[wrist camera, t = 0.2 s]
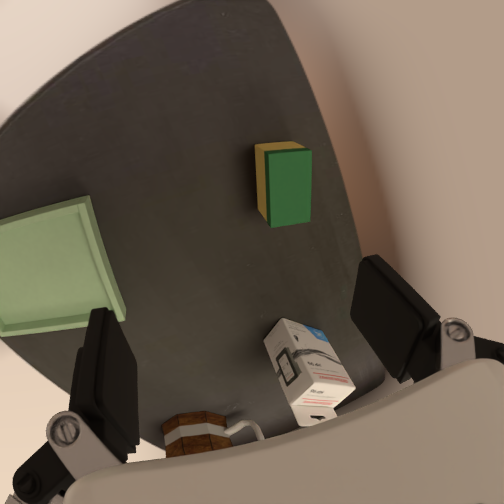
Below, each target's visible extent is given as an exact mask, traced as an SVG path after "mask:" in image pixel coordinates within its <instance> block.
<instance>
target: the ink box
mask: <svg viewBox="0 0 504 504" xmlns="http://www.w3.org/2000/svg"><path fill="white" fill-rule="evenodd" d="M264 344H265V346H266V349H267V351H268V354H269V356H270V359H271V361H272V364H273V366H274V369H275V371H276V374H277V376H278V378H279V381H280V384H281V386H282V389H283V391H284V394H285V396H286V399H287V401H288V403H289V405H290V406H291V408H292V411H293V413H294V416H295V418H296V420H297V423H298V424H299V425H300V426H312V425H315V424H318V423H321V422H324V421H327V420H330V419H333V418H335V417H337V415H336V413H335V411H334V410H333V407H335V406H336V405H337V404H339V403H340V402H341V401H342V400H343V399H344V398H346V397H347V396H348V395H349V394H350V393H351V392H352V391H354V390H355V388H356V387H355V386H354V384H353V383H352V381H351V379H350V377H349V376H348V374H347V372H346V371H345V369H344V367H343V366H342V364H341V362H340V361H339V359H338V357H337V355H336V354H335V352H334V350H333V349H332V347H331V345H330V344H329V342H328V340H327V338H326V337H325V335H324V333H323V332H322V331H321V330H318V329H315V328H312V327H309V326H306V325H303V324H300V323H297V322H294V321H291V320H288V319H285V318H281V319H280V320H279V321H278V323H277V324H276V325H275V326H274V328H273V329H272V330H271V332H270V333H269V334H268V335H267V337H266V338H265V339H264ZM310 415H322V416H324V417H325V419H321V421H319V420H317V419H312V418H311V417H310Z"/></svg>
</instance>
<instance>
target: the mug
mask: <svg viewBox="0 0 504 504" xmlns="http://www.w3.org/2000/svg"><path fill="white" fill-rule="evenodd" d="M244 426H251V427H252V428H253V429H254V430H255V433H256V436H257V439H258V441H261V440H264V436H263V434H262V432H261V429H260V427H259V426H258V425H257V424H256V423H255V422H254V421H252V420H241V421H239V422H238V423H236V424H234V425H233V426H231V427H229V428H227V423H226V417H225V416H221V415H217V414H214V413H210V412H207V411H201V412H193V413H186V414H177V415H175V416H174V417H173V418H171V419H170V420H168V421H167V422H165V423H164V424H162V429H163V433H164V438H165V446H166V458H171V457H178V456H185V455H191V454H197V453H203V452H209V451H215V450H220V449H225V448H230V447H233V445H232V442H231V440H230V437H229V436H230V435H232V434H233V433H235V432H237V431H239V430H240V429H242V428H243V427H244Z"/></svg>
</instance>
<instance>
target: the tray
mask: <svg viewBox="0 0 504 504" xmlns="http://www.w3.org/2000/svg"><path fill="white" fill-rule="evenodd" d="M102 307H107V308H108V309H109V310H113V311H114V313H115V315H116V318H117V320H118V322H119V321H125V316H126V307H125V304H124V302H123V299H122V297H121V294H120V291H119V289H118V286H117V283H116V280H115V277H114V275H113V272H112V269H111V266H110V263H109V260H108V257H107V254H106V251H105V248H104V244H103V241H102V238H101V235H100V231H99V228H98V225H97V221H96V218H95V214H94V210H93V207H92V203H91V199H90V195H87V196H83V197H79V198H75V199H71V200H67V201H63V202H59V203H56V204H52V205H48V206H45V207H41V208H38V209H34V210H31V211H27V212H24V213H21V214H17V215H14V216H11V217H8V218H5V219H1V220H0V336H1V337H4V336H14V335H23V334H32V333H40V332H48V331H56V330H64V329H71V328H79V327H86V326H88V321H89V317H90V312H91V310H92V309H95V308H102Z"/></svg>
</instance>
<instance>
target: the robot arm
mask: <svg viewBox="0 0 504 504" xmlns="http://www.w3.org/2000/svg"><path fill="white" fill-rule="evenodd" d="M350 316H351V319H352V321H353V322H354V324H355V325H356V326H357V328H358V329H359V331H360V332H361V333H362V335H363V336H364V338H365V339H366V340H367V342H368V343H369V345H370V346H371V348H372V349H373V350H374V352H375V353H376V355H377V356H378V358H379V359H380V360H381V362H382V363H383V365H384V366H385V368H386V369H387V370H388V372H389V373H390V375H391V376H392V377H393V378H396V379H397V380H398V382H399V383H400V384H401V383H403V382H405V381H407V380H409V379H410V378H412V379H413V380H414V384H413V385H411V386H409V387H406V388H404V389H402V390H400V391H398V392H396V393H394V394H392V395H389V396H387V397H385V398H383V399H381V400H378V401H376V402H374V403H371V404H369V405H366V406H364V407H361V408H359V409H357V410H354V411H351V412H349V413H346V414H344V415H341V416H338V417H335V418H333V419H330V420H327V421H324V422H321V423H318V424H315V425H312V426H310V427H306V428H303V429H300V430H297V431H293V432H290V433H286V434H283V435H279V436H276V437H272V438H268V439H264V440H261V441H257V442H252V443H248V444H244V445H239V446H235V447H230V448H225V449H220V450H215V451H209V452H203V453H197V454H191V455H185V456H178V457H171V458H163V459H154V460H148V461H139V462H131V463H127V462H126V461H127V460H128V456H127V454H129V453H136V445H139V444H140V437H139V420H138V391H137V362H136V359H135V357H134V355H133V353H132V351H131V349H130V346H129V344H128V342H127V340H126V338H125V336H124V334H123V331H122V329H121V327H120V325H119V322H118V320H117V318H116V315H115V313H114V311H113V310H109V309H108V308H107V307H102V308H95V309H92V310H91V312H90V317H89V321H88V326H87V331H86V336H85V341H84V346H83V347H80V348H79V349H78V352H77V357H76V362H75V368H74V374H73V380H72V387H71V394H70V402H69V410H68V411H62V412H59V413H57V414H55V415H54V416H53V417H52V418H51V419H50V421H49V423H48V424H47V428H46V436H47V439H48V441H47V442H46V443H45V444H44V445H43V446H42V447H41V448H40V449H38V451H36V452H35V453H34V454H33V455H32V456H31V457H30V458H29V459H28V460H27V461H26V462H25V463H24V464H23V465H21V467H19V468H18V469H17V471H16V472H15V474H14V477H13V489H14V491H15V492H14V495H9V496H8V499H7V500H6V502H5V504H504V344H503V343H499V342H495V341H491V340H487V339H483V338H479V337H476V336H473V331H472V329H471V327H470V326H469V325H468V324H467V323H466V322H465V321H463V320H461V319H458V318H447V319H445V320H444V321H443V322H442V323H441V322H440V321H439V319H440V316H439V315H438V313H437V312H435V310H434V309H433V308H432V307H431V306H430V305H429V304H428V303H427V302H426V301H425V300H424V299H423V298H422V297H421V296H420V295H419V294H418V293H417V292H416V291H415V290H414V289H413V288H412V287H411V286H410V285H409V284H408V283H407V282H406V281H405V280H404V279H403V278H402V277H401V276H400V275H399V274H398V273H397V272H396V271H395V270H394V269H393V268H392V267H391V266H390V265H389V264H388V263H387V262H385V261H384V260H383V259H382V258H381V257H380V256H379V255H371V256H367V257H364V258H363V259H362V261H361V262H360V263H359V268H358V274H357V280H356V285H355V291H354V296H353V301H352V306H351V311H350Z"/></svg>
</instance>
